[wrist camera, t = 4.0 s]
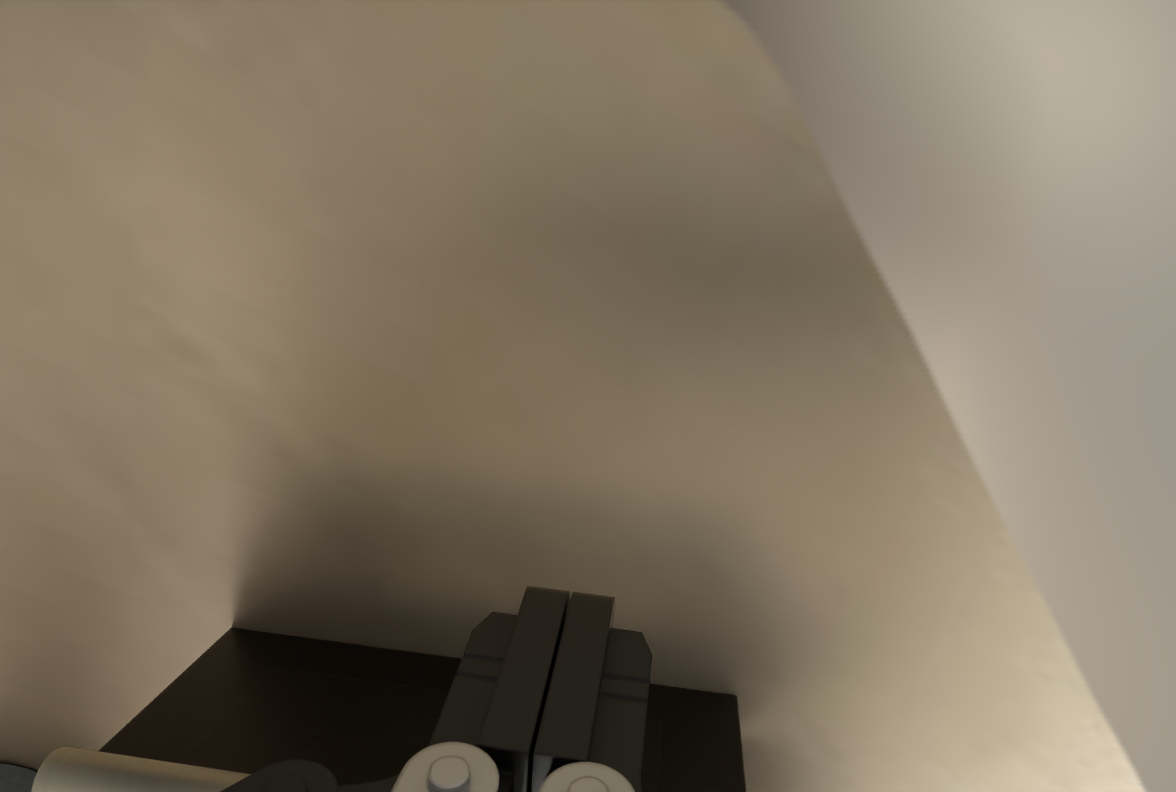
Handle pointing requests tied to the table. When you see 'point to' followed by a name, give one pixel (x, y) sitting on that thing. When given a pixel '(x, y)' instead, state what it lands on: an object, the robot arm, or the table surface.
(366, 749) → the oven door
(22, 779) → the moka pot
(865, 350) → the table surface
